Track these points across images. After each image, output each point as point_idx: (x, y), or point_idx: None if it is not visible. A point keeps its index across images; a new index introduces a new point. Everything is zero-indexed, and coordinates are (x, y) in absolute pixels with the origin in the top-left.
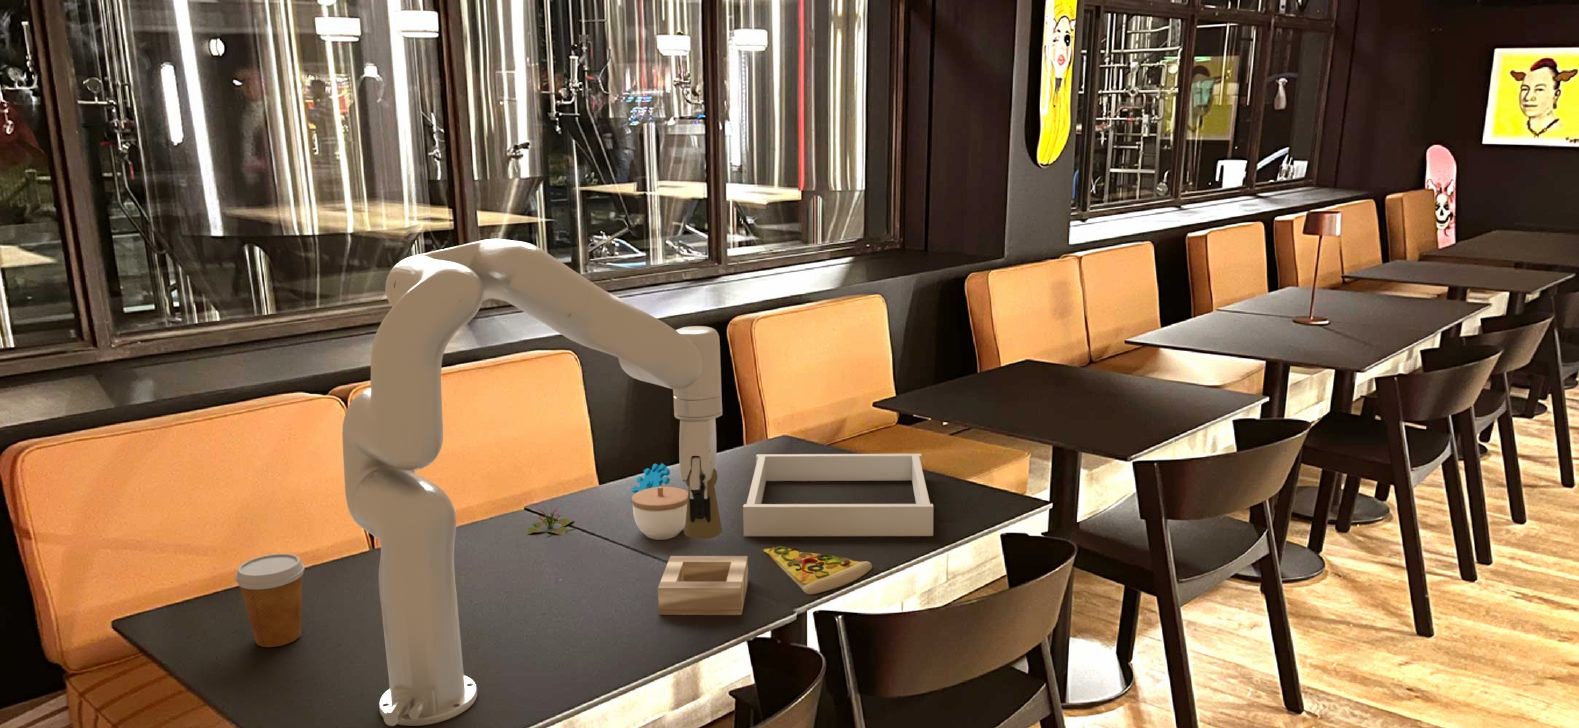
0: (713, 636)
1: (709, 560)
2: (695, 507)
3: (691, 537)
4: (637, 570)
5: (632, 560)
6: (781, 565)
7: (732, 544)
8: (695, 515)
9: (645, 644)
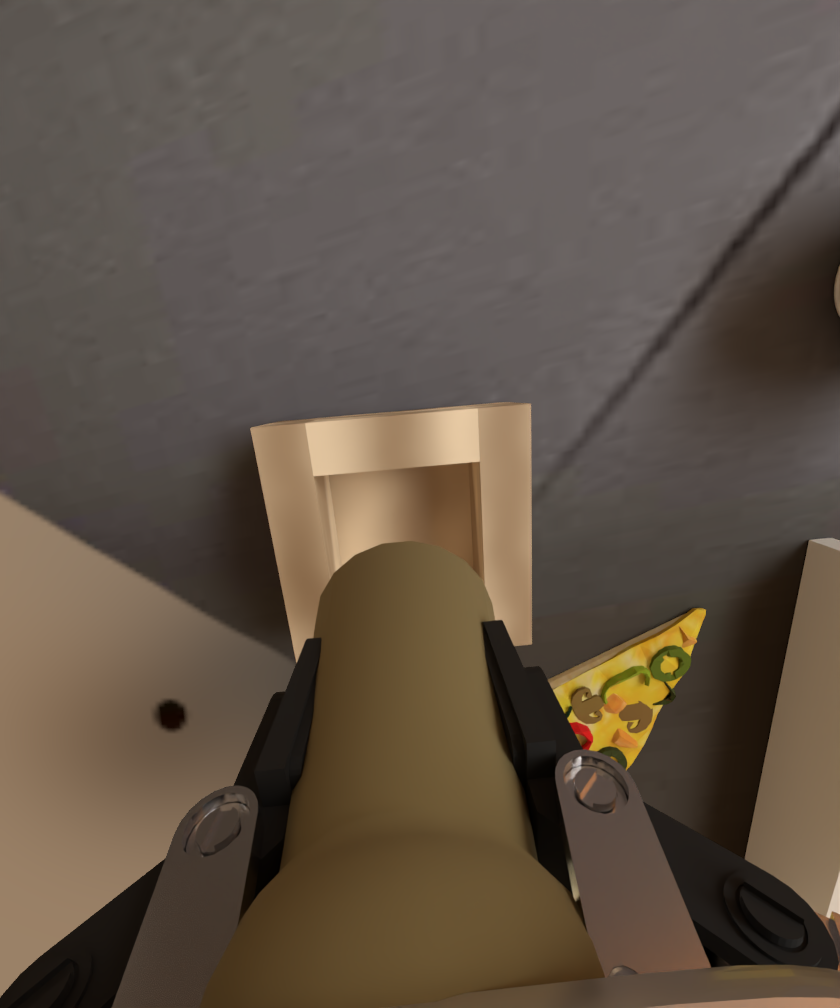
0: (190, 583)
1: (495, 543)
2: (251, 756)
3: (324, 590)
4: (589, 266)
5: (674, 223)
6: (592, 667)
7: (764, 518)
8: (271, 705)
9: (99, 429)
